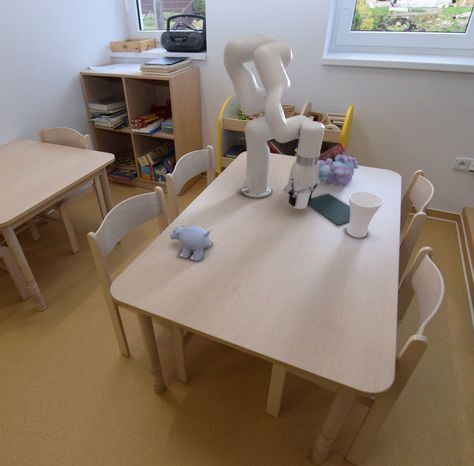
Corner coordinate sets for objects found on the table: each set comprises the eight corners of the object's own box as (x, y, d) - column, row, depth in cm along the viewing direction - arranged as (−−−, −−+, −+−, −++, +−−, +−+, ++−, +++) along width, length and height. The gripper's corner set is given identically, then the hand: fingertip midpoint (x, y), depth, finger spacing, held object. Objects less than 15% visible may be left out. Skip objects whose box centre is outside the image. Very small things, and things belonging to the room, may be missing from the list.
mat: (338, 225, 120) (338, 224, 120) (303, 201, 135) (303, 200, 135) (364, 216, 124) (365, 215, 124) (328, 194, 139) (328, 193, 139)
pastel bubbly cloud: (334, 186, 134) (356, 145, 130) (292, 168, 148) (311, 130, 143) (351, 195, 149) (372, 158, 145) (312, 178, 163) (330, 143, 158)
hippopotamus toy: (180, 235, 119) (177, 213, 114) (218, 244, 114) (217, 221, 108) (165, 253, 111) (161, 229, 106) (205, 263, 106) (203, 240, 100)
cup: (373, 227, 118) (383, 194, 110) (371, 244, 110) (382, 209, 103) (342, 221, 122) (350, 189, 114) (339, 237, 114) (347, 203, 106)
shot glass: (309, 201, 128) (312, 186, 124) (307, 211, 123) (310, 194, 119) (291, 199, 130) (293, 183, 126) (288, 208, 125) (291, 192, 120)
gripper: (319, 150, 120) (311, 193, 131) (280, 159, 115) (274, 203, 126) (334, 158, 115) (324, 201, 126) (293, 168, 109) (286, 212, 120)
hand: (299, 202), depth 125 cm, fingers closed on shot glass, 6 cm apart
